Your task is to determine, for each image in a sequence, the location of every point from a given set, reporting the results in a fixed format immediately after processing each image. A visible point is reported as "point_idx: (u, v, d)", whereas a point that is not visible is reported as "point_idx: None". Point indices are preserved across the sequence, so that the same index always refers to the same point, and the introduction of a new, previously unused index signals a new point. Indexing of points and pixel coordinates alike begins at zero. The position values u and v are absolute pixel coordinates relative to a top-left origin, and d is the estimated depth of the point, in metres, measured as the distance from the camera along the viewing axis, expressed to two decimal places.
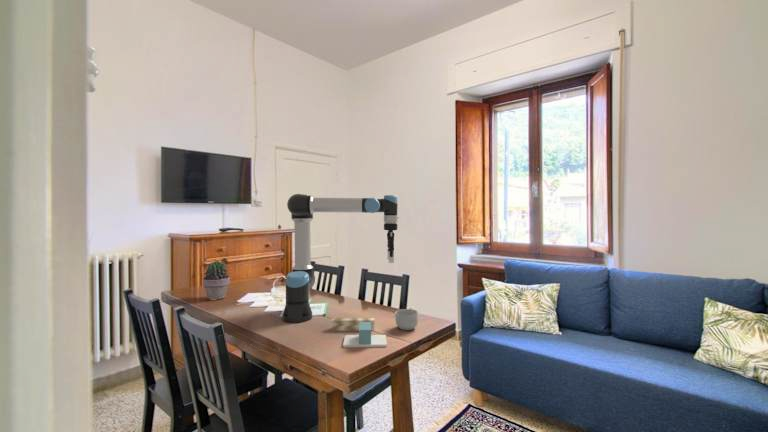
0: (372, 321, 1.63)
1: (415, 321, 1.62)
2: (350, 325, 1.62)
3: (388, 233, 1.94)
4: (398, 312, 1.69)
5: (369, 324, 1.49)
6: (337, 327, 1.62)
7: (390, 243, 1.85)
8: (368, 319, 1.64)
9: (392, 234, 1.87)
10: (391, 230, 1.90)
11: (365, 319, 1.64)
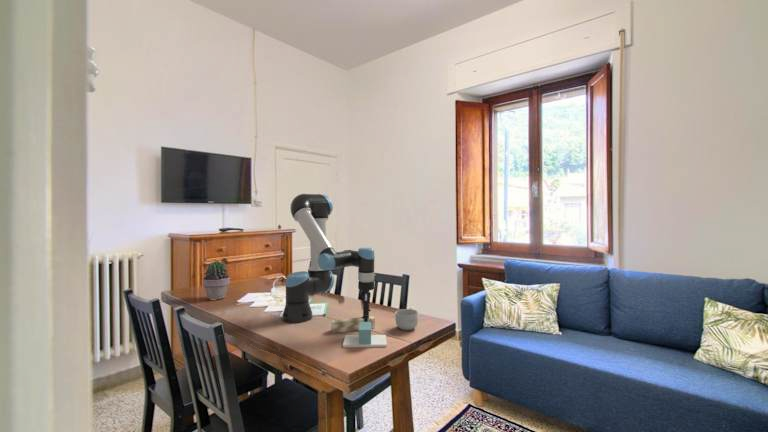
0: (372, 319, 1.65)
1: (415, 321, 1.62)
2: (351, 325, 1.62)
3: (363, 292, 1.65)
4: (398, 312, 1.69)
5: (369, 324, 1.49)
6: (338, 329, 1.60)
7: (364, 310, 1.57)
8: None
9: (367, 299, 1.57)
10: (366, 290, 1.60)
11: None
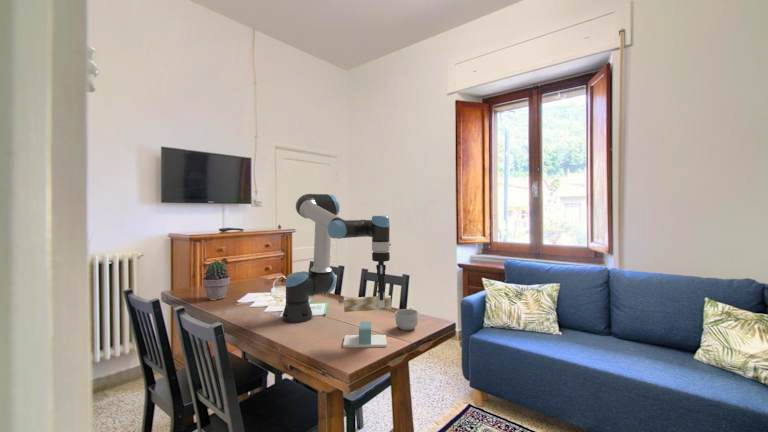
0: (388, 298, 1.47)
1: (415, 321, 1.62)
2: (364, 304, 1.47)
3: (378, 264, 1.50)
4: (398, 312, 1.69)
5: (369, 324, 1.49)
6: (350, 307, 1.47)
7: (380, 284, 1.43)
8: None
9: (382, 272, 1.43)
10: (381, 262, 1.45)
11: None
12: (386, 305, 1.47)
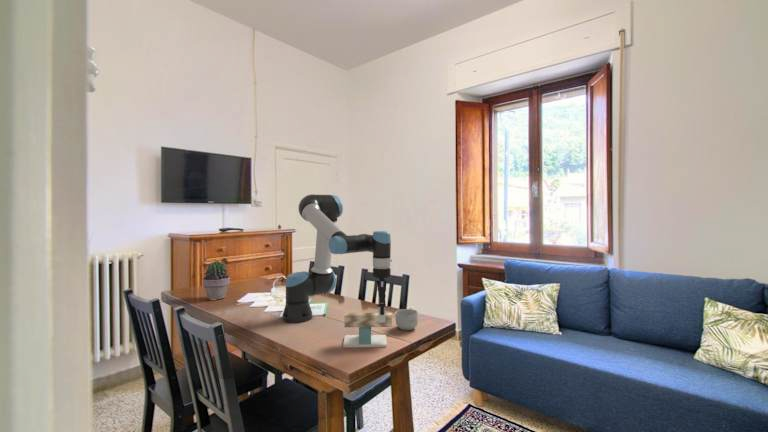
0: (389, 316, 1.47)
1: (415, 321, 1.62)
2: (364, 320, 1.46)
3: (379, 280, 1.49)
4: (398, 312, 1.69)
5: None
6: (350, 323, 1.46)
7: (380, 297, 1.39)
8: None
9: (383, 284, 1.41)
10: (382, 278, 1.44)
11: None
12: (387, 322, 1.47)
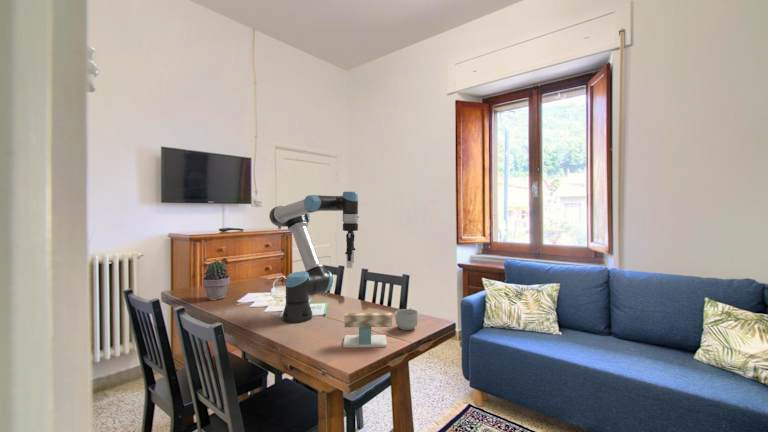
0: (389, 316, 1.47)
1: (415, 321, 1.62)
2: (364, 320, 1.46)
3: None
4: (398, 312, 1.69)
5: None
6: (350, 323, 1.46)
7: (348, 245, 1.63)
8: (384, 313, 1.49)
9: (350, 235, 1.65)
10: (350, 231, 1.68)
11: (381, 314, 1.48)
12: (387, 322, 1.47)
